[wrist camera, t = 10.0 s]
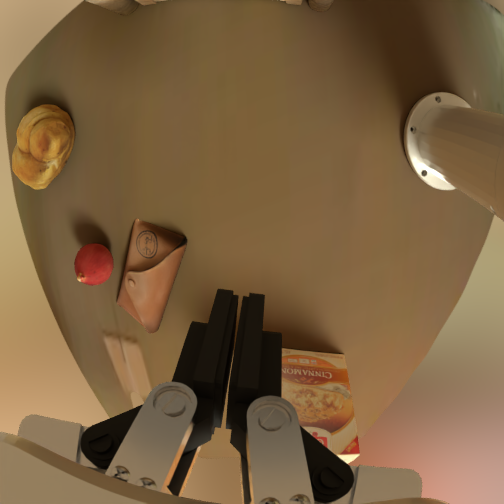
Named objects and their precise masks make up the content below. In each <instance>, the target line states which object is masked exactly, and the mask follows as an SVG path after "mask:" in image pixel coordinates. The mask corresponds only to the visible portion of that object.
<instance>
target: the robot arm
mask: <svg viewBox="0 0 504 504" xmlns="http://www.w3.org/2000/svg"><path fill="white" fill-rule="evenodd" d="M435 98H436V100H435ZM410 128H412V130H411V131H410ZM404 147H405V152H406V156H407V159H408V161H409V163H410V166H411V168H412V169H413V171H414V172H415V174H416V175H417V176H418V177H419V178H420V179H421V180H422V181H424V182H425V183H426V184H428V185H430V186H432V187H433V188H436V189H440V190H453V189H458V190H460V191H462V192H463V193H465V194H466V195H468V196H469V197H471V198H472V199H474V200H475V201H476V202H478V203H479V204H481V205H482V206H484V207H485V208H486V209H488V210H489V211H491V212H492V213H493V214H495V215H496V216H497V217H499V218H500V219H501V220H503V221H504V115H503V114H499V113H494V112H489V111H484V110H479V109H473V108H471V106H470V105H469V104H468V103H467V102H466V101H464V100H463V99H462V98H460V97H458V96H457V95H454V94H451V93H445V92H435V93H431V94H428V95H426V96H424V97H423V98H421V99H420V100H419V101H418V102H417V103H416V104H415V105H414V106H413V108H412V109H411V111H410V113H409V115H408V117H407V120H406V124H405V129H404ZM422 170H423V172H422ZM421 172H422V173H421ZM264 298H265V295H263V294H254V293H250V294H249V297H246V296H243V300H242V307H241V313H240V319H239V325H238V332H237V338H236V344H235V350H234V357H233V363H232V369H231V376H230V383H229V392H228V405H227V418H226V429H232V431H231V440H230V443H231V444H232V445H233V446H234V447H235V448H236V449H237V450H238V451H239V461H240V475H241V489H242V503H243V504H449V503H447V502H444V501H441V500H437V499H431V498H421V492H422V480H421V477H420V476H419V474H418V473H417V472H415V471H414V470H411V469H401V468H400V469H399V468H386V467H374V466H365V465H359V466H358V467H357V466H350V465H348V464H347V463H346V462H344V461H343V460H342V459H341V458H339V457H338V456H337V455H335V454H334V453H333V452H332V451H330V450H329V449H328V448H327V447H325V446H324V445H323V444H322V443H321V442H319V441H318V440H317V439H316V438H315V437H313V436H312V435H311V434H310V433H309V432H307V431H306V430H305V429H304V428H303V427H302V426H300V425H299V420H298V415H297V412H296V410H295V408H294V406H293V405H292V404H291V403H290V402H288V401H287V400H285V399H284V398H282V334H281V333H277V332H267V331H262V329H263V314H264ZM237 307H238V295H233V291H231V290H223V289H218V290H217V294H216V297H215V301H214V304H213V308H212V311H211V315H210V318H209V322H208V324H207V323H200V322H194V321H192V323H191V325H190V328H189V331H188V334H187V337H186V339H185V342H184V346H183V349H182V352H181V355H180V358H179V361H178V364H177V367H176V370H175V373H174V376H173V379H172V382H165V383H162V384H159V385H158V386H156V387H155V388H153V390H152V391H151V392H150V393H149V395H148V397H147V399H146V400H145V402H144V404H143V405H140V406H138V407H136V408H134V409H131V410H129V411H127V412H124V413H122V414H120V415H117V416H115V417H112V418H110V419H107V420H105V421H102V422H100V423H98V424H95V425H92V426H91V427H85V426H82V425H81V424H79V423H73V422H68V421H62V420H57V419H53V418H48V417H44V416H39V415H29V416H27V417H25V418H24V419H23V420H22V422H21V424H20V427H19V431H18V436H16V435H13V434H8V433H4V432H0V504H218V503H212V502H205V501H199V500H193V499H189V498H184V497H181V496H182V494H183V491H184V489H185V486H186V484H187V481H188V478H189V476H190V473H191V471H192V469H193V466H194V463H195V461H196V458H197V456H198V453H199V451H200V448H201V445H203V444H204V443H206V442H208V441H210V440H211V436H212V434H214V430H215V427H218V428H221V424H222V418H223V412H224V405H225V399H226V393H227V387H228V381H229V375H230V368H231V362H232V356H233V349H234V339H235V329H236V318H237Z"/></svg>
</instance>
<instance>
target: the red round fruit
mask: <svg viewBox="0 0 504 504" xmlns="http://www.w3.org/2000/svg"><path fill="white" fill-rule="evenodd" d="M74 265H75V273H76V275H77V279H78V281H81V282H83V283H84V284H87V285H92V286H93V285H98V284H102V283H103V282H105V281H106V280H107V279H108V278H109V277H110V275H111V272H112V270H113V257H112V255H111V253H110V251H109V250H108V249H107V248H106V247H105V246H103V245H101V244H97V243H93V244H87V245H85V246H84V247H82V248H81V249H80V250H79V251H78V253H77V256H76V258H75V263H74Z"/></svg>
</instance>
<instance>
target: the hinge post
mask: <svg viewBox="0 0 504 504" xmlns="http://www.w3.org/2000/svg"><path fill="white" fill-rule="evenodd" d="M332 2H333V0H308V4H309V6H310V7H311V8H312V9H313V10H315V11H318V12H324V11H326V10H328V9H329V7H330V5H331V4H332Z"/></svg>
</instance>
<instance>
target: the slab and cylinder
mask: <svg viewBox="0 0 504 504" xmlns="http://www.w3.org/2000/svg"><path fill="white" fill-rule="evenodd" d="M85 1H87V2H90V3H93V4H96V5H98V6H101V7H103V8H106V9H109V10H111V11H113V12H116V13H118V14H121V15H128V14H130V13H132V12H134V11H135V10H136V9H137V7H138V5H139V2H137V1H135V0H85Z"/></svg>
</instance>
